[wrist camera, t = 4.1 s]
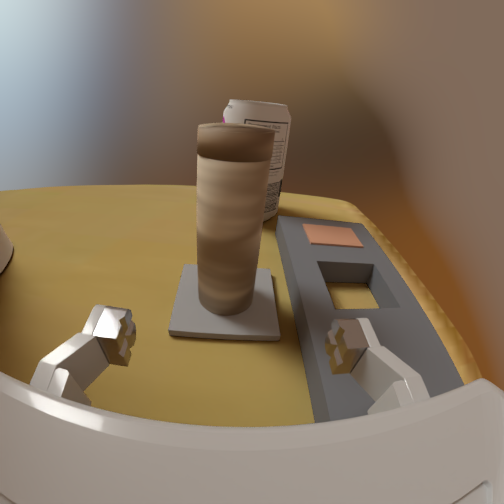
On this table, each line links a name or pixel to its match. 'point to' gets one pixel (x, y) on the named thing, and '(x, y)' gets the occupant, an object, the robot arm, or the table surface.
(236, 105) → the supplement can
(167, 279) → the table surface
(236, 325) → the pad
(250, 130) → the maple peg
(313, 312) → the socket board
